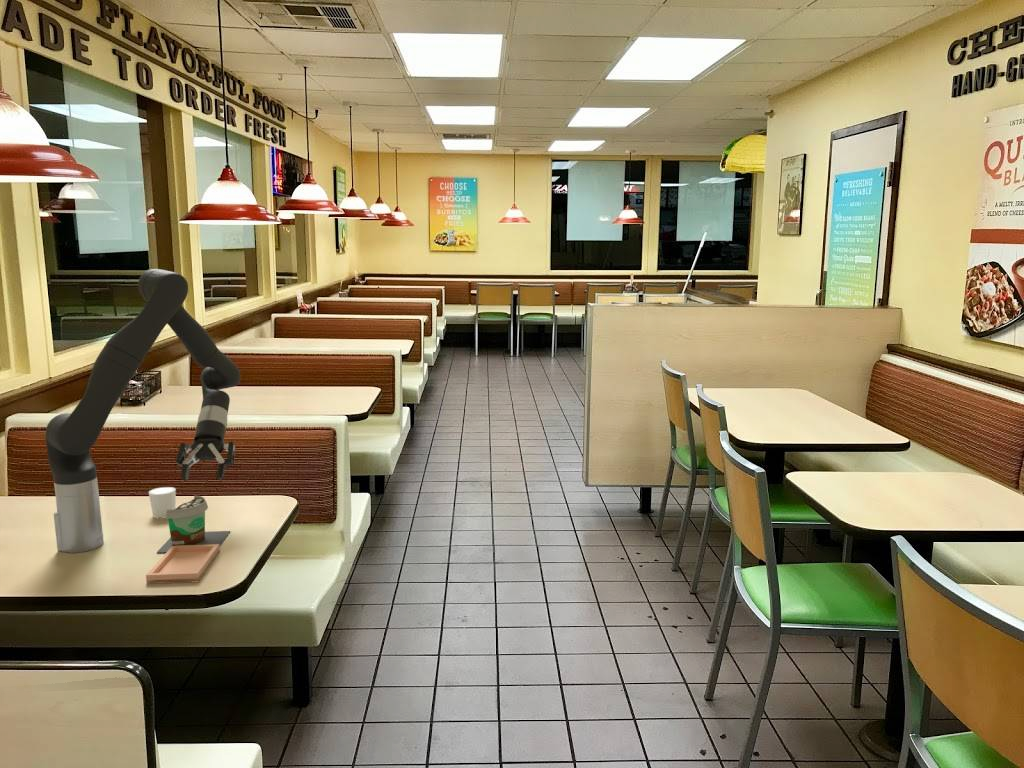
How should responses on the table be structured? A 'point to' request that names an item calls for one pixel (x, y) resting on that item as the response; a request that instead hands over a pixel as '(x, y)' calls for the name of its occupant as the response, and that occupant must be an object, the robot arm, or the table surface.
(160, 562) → the dish
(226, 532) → the mat
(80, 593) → the table surface
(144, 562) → the table surface
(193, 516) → the food container
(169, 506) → the white cup
